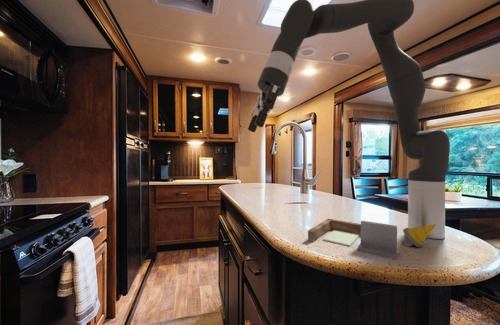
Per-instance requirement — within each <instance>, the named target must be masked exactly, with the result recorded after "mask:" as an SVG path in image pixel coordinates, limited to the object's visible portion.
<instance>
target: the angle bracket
mask: <svg viewBox="0 0 500 325" xmlns="http://www.w3.org/2000/svg"><path fill="white" fill-rule="evenodd" d="M360 224H361V235H360V244H359V245H358V246H357V251H358V252H362V253H365V254H370V255H374V256H377V257H378V256H379V257H383V258H387V259H390V258H392V259H391V260H396V259H395V258H397V255H396V254H397V253H398V226H397V225H392V224H386V223H382V222H376V221H375V222H373V221H367V220H360Z"/></svg>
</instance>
